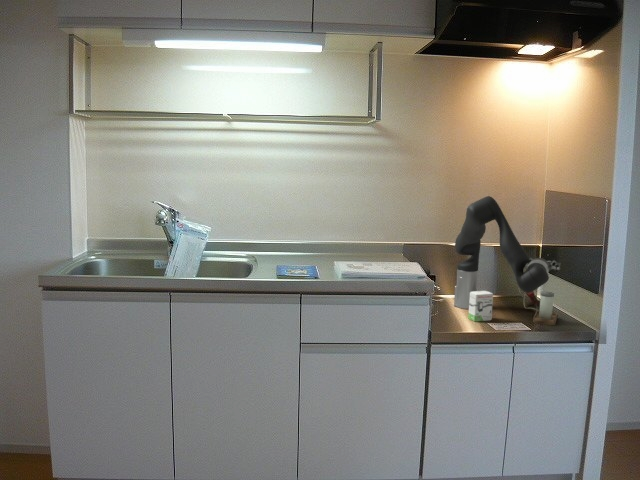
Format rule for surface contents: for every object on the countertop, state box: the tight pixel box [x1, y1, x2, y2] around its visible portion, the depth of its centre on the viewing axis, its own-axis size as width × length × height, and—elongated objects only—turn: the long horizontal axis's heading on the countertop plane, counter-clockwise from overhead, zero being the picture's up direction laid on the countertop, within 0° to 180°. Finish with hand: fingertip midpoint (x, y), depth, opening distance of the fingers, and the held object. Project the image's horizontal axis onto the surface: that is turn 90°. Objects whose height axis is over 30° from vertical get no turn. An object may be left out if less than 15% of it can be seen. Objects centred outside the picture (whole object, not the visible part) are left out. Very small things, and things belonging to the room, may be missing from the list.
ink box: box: [468, 290, 494, 322], centre depth 227 cm, size 9×5×12 cm, turn 108°
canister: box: [539, 291, 555, 320], centre depth 226 cm, size 5×5×11 cm
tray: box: [532, 309, 559, 326], centre depth 228 cm, size 8×12×2 cm
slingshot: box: [518, 287, 540, 311], centre depth 246 cm, size 17×10×15 cm
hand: (542, 261), depth 217 cm, fingers open, 8 cm apart
